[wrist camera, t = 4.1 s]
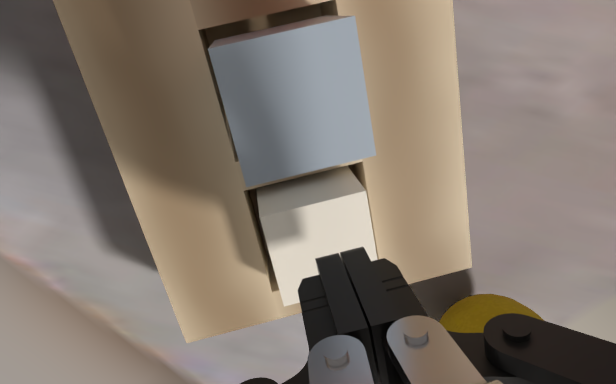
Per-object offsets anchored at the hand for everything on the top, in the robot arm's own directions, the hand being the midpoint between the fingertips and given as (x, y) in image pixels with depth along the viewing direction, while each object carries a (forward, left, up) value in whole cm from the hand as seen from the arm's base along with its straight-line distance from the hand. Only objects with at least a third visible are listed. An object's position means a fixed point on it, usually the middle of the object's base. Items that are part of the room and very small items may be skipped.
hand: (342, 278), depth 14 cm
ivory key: (0, 0, -6) cm, 6 cm away
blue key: (0, -5, -4) cm, 7 cm away
